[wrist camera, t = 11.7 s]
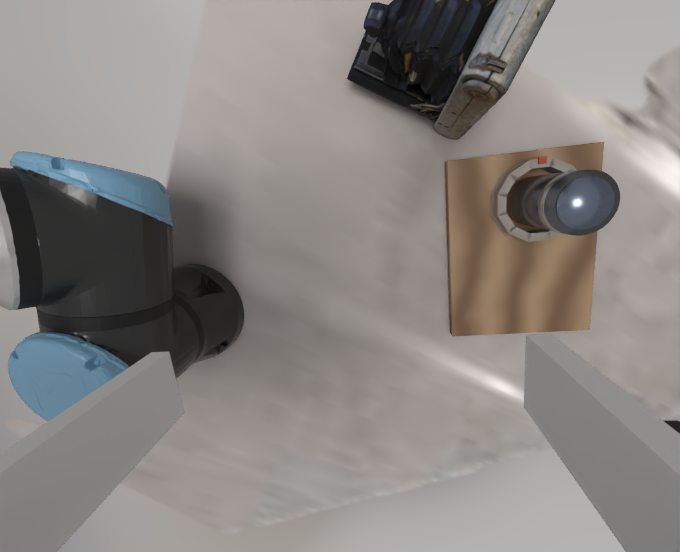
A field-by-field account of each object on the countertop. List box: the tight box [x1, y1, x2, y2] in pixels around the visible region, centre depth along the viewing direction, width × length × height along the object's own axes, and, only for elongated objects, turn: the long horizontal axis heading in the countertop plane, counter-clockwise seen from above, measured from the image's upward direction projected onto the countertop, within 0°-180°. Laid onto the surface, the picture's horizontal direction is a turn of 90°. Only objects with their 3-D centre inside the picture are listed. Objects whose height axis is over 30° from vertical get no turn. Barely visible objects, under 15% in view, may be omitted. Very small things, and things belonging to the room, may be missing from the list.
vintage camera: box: [347, 0, 555, 139], centre depth 30 cm, size 10×15×20 cm, turn 66°
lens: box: [506, 169, 620, 236], centre depth 34 cm, size 6×6×11 cm
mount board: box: [445, 142, 604, 336], centre depth 41 cm, size 18×24×4 cm
